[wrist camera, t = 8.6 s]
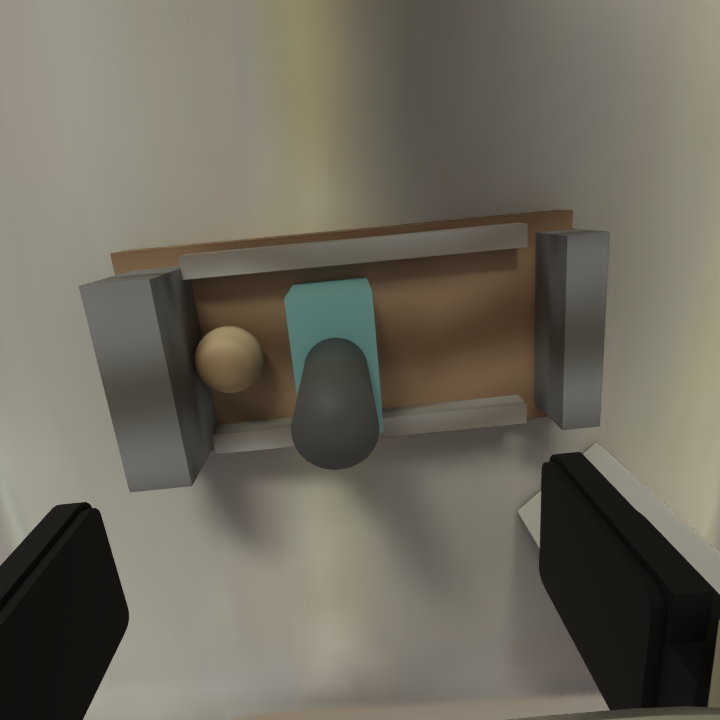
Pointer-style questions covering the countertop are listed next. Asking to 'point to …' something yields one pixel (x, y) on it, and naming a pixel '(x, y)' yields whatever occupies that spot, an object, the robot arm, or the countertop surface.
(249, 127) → the countertop surface
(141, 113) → the countertop surface
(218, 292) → the base
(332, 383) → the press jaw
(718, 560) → the milk carton
